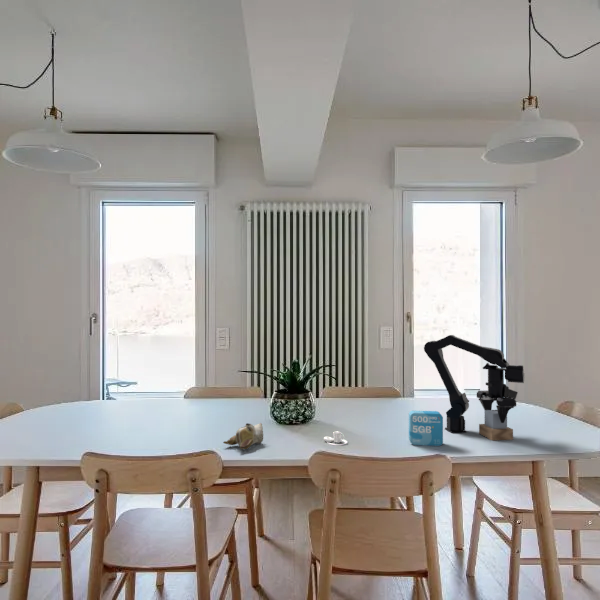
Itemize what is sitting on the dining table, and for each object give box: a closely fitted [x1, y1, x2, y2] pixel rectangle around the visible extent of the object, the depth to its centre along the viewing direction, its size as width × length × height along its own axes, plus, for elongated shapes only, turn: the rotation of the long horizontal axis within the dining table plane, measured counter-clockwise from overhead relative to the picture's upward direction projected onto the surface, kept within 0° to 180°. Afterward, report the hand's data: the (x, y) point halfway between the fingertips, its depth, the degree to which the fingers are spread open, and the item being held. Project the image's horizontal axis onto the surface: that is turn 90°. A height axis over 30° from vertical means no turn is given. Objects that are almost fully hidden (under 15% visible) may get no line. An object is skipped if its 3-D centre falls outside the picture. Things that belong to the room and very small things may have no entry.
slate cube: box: [484, 409, 508, 429], centre depth 179 cm, size 6×6×6 cm
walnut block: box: [478, 423, 514, 441], centre depth 179 cm, size 9×9×4 cm
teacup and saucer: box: [323, 430, 348, 446], centre depth 171 cm, size 9×8×4 cm
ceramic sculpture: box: [223, 422, 264, 450], centre depth 165 cm, size 11×9×15 cm
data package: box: [408, 410, 444, 447], centre depth 169 cm, size 12×4×12 cm, turn 84°
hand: (495, 419), depth 179 cm, fingers open, 9 cm apart
